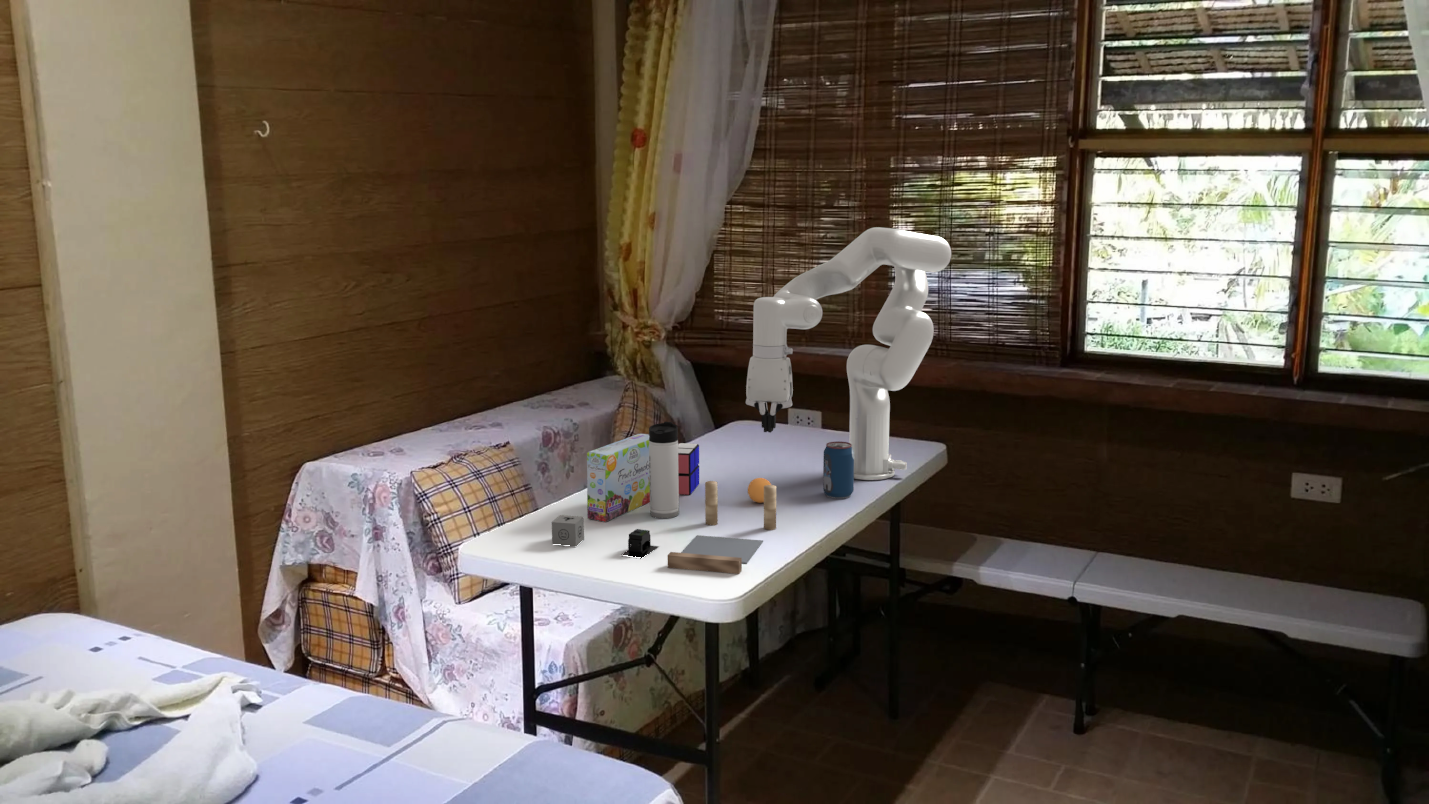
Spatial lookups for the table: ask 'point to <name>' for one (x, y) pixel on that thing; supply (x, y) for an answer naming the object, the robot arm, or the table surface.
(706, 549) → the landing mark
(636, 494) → the snack box
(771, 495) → the post near
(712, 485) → the post far
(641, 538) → the black boxy piece
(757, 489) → the ball
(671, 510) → the travel mug
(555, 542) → the dice cube
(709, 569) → the stopper wall
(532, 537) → the table surface
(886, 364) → the robot arm
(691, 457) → the puzzle cube
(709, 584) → the table surface
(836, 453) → the soda can
